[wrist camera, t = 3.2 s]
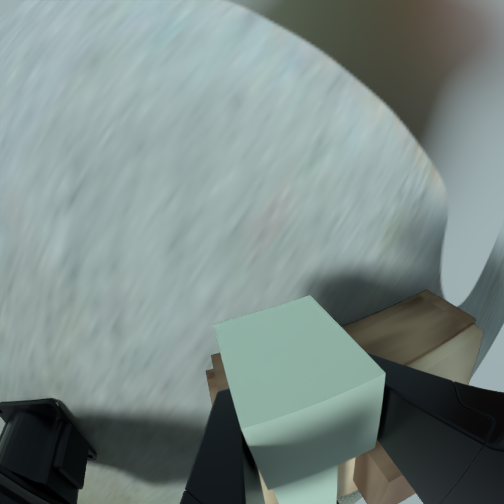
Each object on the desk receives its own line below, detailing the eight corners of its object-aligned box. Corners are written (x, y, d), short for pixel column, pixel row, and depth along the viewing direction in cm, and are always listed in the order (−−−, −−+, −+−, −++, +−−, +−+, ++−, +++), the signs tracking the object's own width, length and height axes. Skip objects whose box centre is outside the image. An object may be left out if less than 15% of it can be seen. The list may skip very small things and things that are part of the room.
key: (291, 529, 15) (307, 566, 12) (213, 324, 8) (240, 428, 5) (328, 516, 16) (346, 552, 12) (309, 294, 9) (385, 372, 5)
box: (251, 472, 21) (276, 545, 13) (200, 358, 16) (223, 474, 9) (410, 405, 23) (456, 455, 16) (427, 277, 19) (512, 325, 11)
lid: (263, 504, 16) (282, 558, 11) (221, 425, 13) (245, 517, 8) (435, 424, 19) (469, 461, 14) (465, 318, 15) (523, 357, 10)
